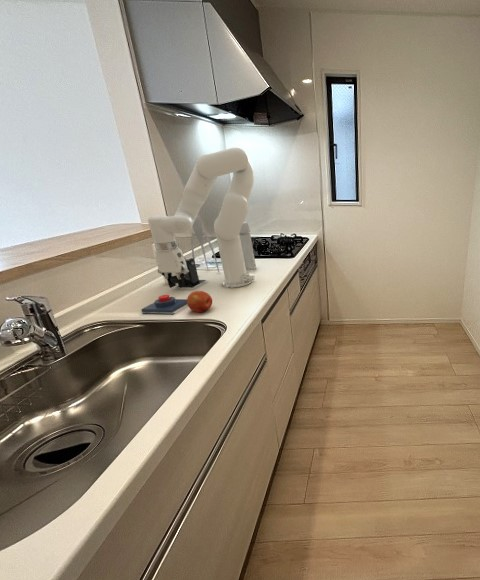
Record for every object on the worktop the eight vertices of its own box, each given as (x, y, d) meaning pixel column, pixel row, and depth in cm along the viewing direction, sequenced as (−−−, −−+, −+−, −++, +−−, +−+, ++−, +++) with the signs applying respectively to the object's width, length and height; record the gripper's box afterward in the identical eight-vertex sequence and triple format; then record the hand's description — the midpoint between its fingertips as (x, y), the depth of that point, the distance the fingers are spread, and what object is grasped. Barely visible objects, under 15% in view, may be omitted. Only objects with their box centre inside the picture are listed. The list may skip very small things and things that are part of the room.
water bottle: (259, 268, 171) (252, 222, 162) (249, 272, 164) (240, 224, 155) (246, 266, 174) (238, 221, 165) (235, 270, 167) (226, 223, 158)
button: (172, 298, 121) (171, 294, 121) (166, 302, 118) (164, 298, 117) (164, 298, 122) (162, 294, 121) (157, 302, 118) (155, 298, 118)
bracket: (193, 289, 141) (186, 262, 136) (176, 289, 142) (169, 262, 137) (206, 282, 150) (200, 256, 146) (191, 282, 151) (184, 256, 146)
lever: (179, 285, 136) (175, 280, 133) (172, 285, 136) (167, 279, 133) (193, 263, 144) (189, 258, 141) (186, 263, 144) (181, 258, 142)
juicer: (214, 276, 158) (200, 216, 147) (196, 276, 158) (181, 216, 147) (224, 270, 168) (212, 213, 157) (208, 270, 168) (194, 213, 157)
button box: (190, 304, 125) (188, 295, 124) (172, 315, 116) (170, 305, 115) (162, 303, 126) (159, 294, 125) (142, 314, 117) (139, 304, 116)
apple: (206, 305, 124) (201, 286, 121) (219, 309, 120) (214, 290, 117) (185, 312, 118) (180, 293, 115) (198, 317, 114) (193, 297, 111)
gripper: (191, 244, 133) (200, 284, 140) (154, 243, 134) (166, 283, 141) (178, 248, 126) (189, 290, 133) (140, 247, 127) (153, 289, 134)
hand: (177, 286), depth 137 cm, fingers closed on lever, 3 cm apart
